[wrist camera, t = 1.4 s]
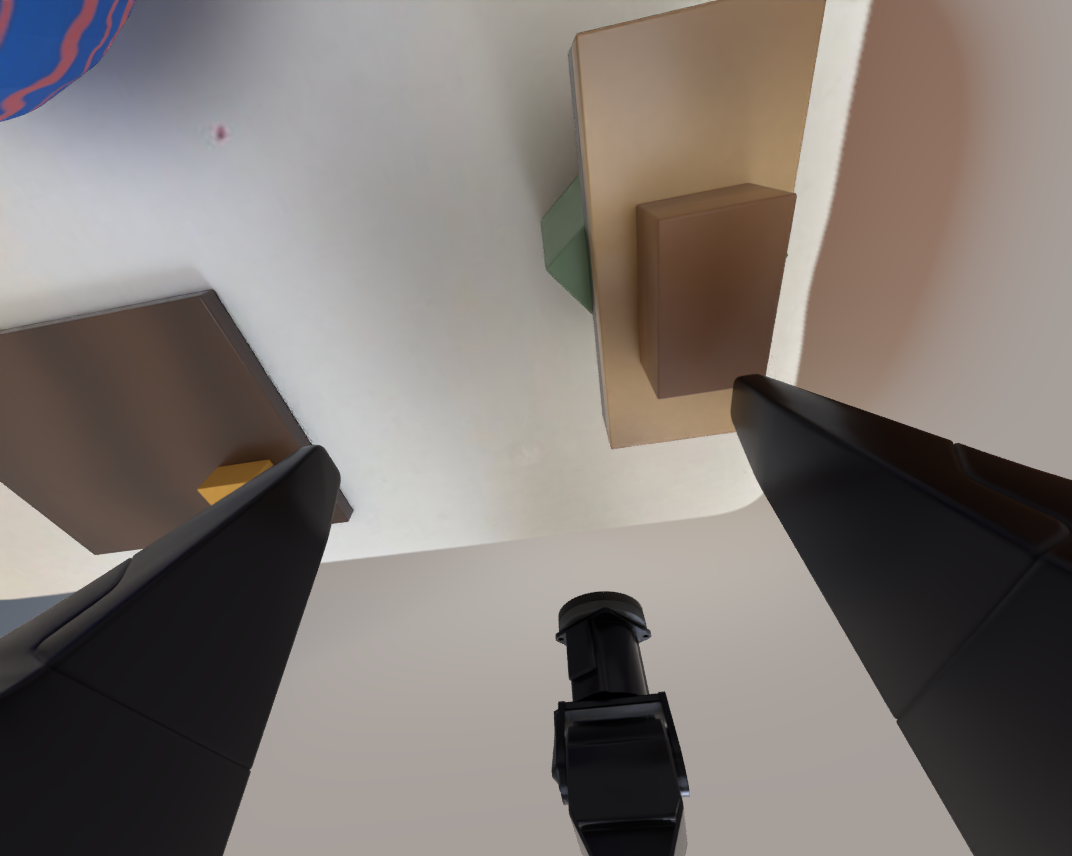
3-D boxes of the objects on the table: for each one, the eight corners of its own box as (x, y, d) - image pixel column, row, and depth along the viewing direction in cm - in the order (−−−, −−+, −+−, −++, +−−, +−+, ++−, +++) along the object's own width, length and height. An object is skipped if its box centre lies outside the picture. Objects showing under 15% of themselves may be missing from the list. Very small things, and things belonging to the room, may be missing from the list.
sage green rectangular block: (698, 212, 18) (790, 256, 12) (613, 295, 20) (652, 371, 14) (624, 118, 16) (686, 107, 10) (539, 221, 18) (544, 269, 12)
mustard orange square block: (269, 458, 25) (251, 481, 23) (298, 498, 27) (283, 522, 25) (217, 466, 25) (196, 489, 24) (250, 505, 27) (232, 529, 26)
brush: (566, 51, 9) (587, 5, 6) (776, 2, 9) (920, -75, 5) (602, 415, 15) (622, 494, 12) (729, 396, 14) (786, 472, 11)
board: (213, 288, 20) (199, 295, 19) (353, 511, 29) (348, 522, 28) (-128, 355, 22) (-154, 363, 21) (105, 544, 31) (94, 555, 30)
